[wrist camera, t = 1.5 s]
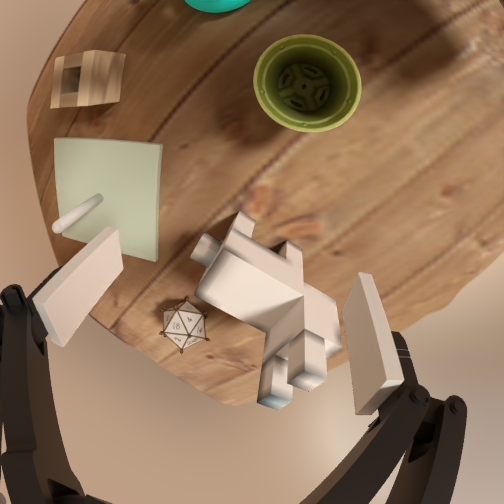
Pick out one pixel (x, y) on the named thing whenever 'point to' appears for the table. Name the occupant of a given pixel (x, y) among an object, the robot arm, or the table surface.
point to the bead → (87, 78)
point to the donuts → (216, 5)
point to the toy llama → (271, 307)
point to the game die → (184, 324)
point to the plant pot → (307, 83)
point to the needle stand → (109, 191)
